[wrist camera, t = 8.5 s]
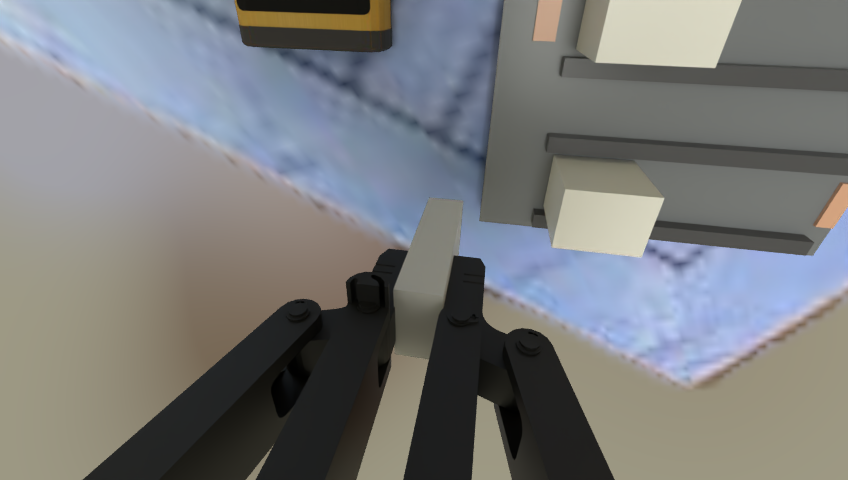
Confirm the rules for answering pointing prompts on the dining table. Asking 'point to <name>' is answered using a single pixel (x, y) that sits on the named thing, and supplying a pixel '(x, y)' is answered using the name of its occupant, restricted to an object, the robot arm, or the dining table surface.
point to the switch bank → (683, 124)
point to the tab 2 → (600, 205)
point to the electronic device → (316, 24)
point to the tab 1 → (656, 31)
